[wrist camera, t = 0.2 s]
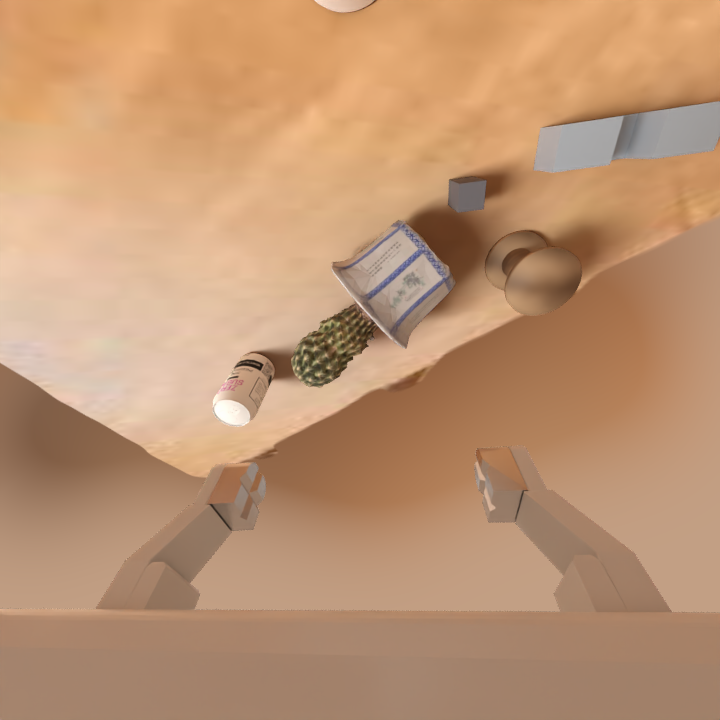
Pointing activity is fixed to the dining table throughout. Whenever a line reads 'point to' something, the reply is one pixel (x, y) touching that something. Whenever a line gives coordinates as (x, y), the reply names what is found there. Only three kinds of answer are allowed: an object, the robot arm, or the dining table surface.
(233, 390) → the supplement can
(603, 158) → the gray stepped block
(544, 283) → the wooden door knob
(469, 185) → the dark gray rectangular block
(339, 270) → the potted plant
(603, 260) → the dining table surface
